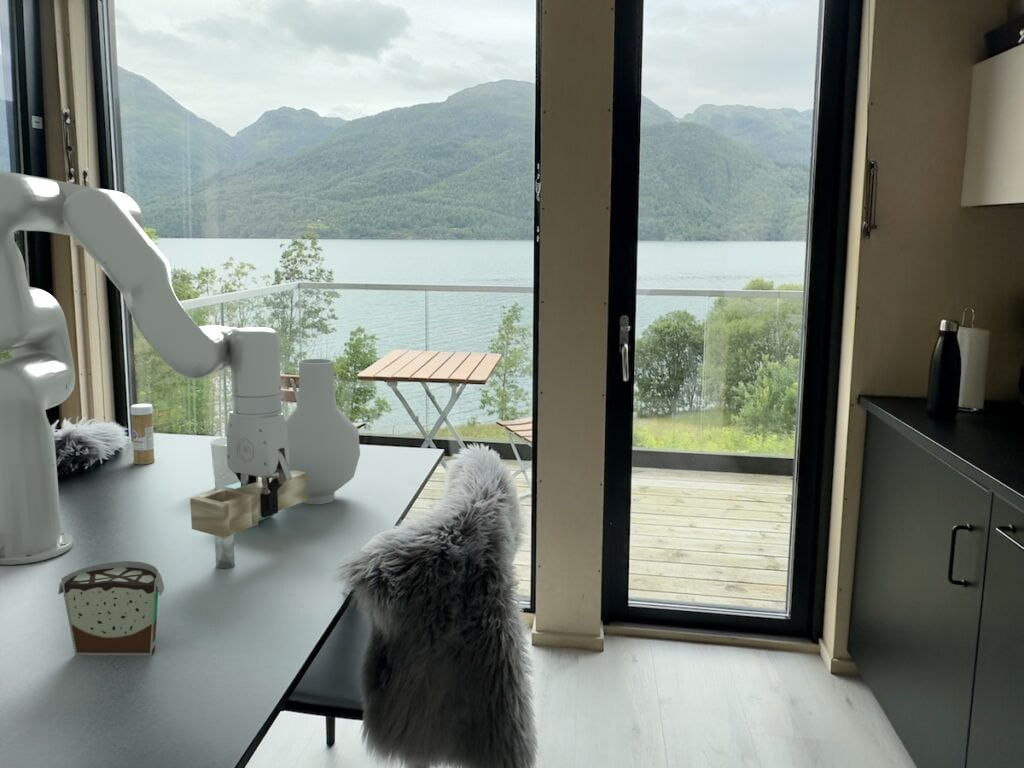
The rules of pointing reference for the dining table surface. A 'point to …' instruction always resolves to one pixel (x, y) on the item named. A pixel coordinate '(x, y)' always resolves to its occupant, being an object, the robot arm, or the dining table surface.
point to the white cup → (221, 464)
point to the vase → (321, 434)
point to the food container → (113, 608)
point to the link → (241, 505)
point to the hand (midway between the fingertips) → (261, 512)
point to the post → (224, 551)
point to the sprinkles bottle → (142, 433)
